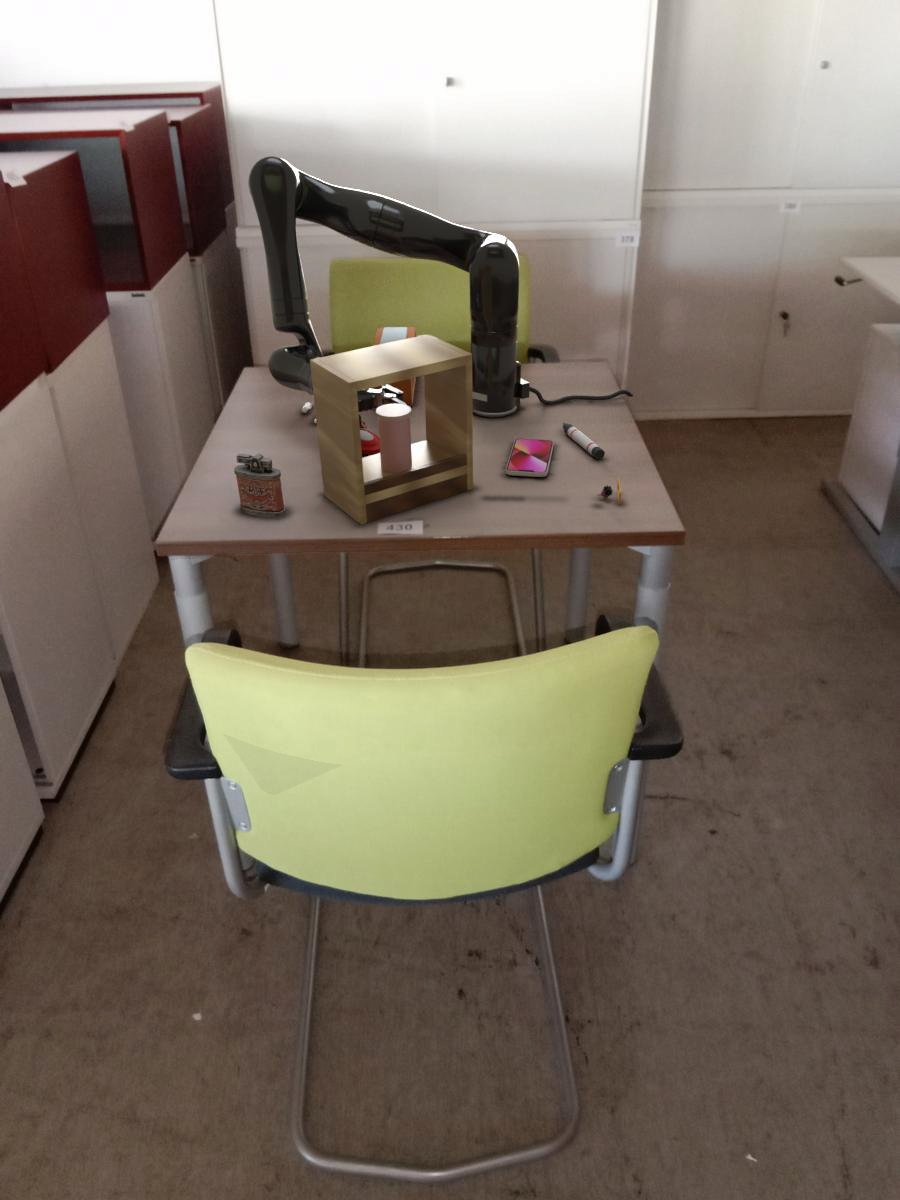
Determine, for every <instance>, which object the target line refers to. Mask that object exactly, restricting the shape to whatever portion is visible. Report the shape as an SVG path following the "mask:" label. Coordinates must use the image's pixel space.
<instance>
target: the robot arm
mask: <svg viewBox="0 0 900 1200" xmlns="http://www.w3.org/2000/svg"><path fill="white" fill-rule="evenodd" d="M247 184H248V189H249V194H250V196H251V199H252V202H253V206H254V210H255V213H256V216H257V220H258V224H259V228H260V232H261V238H262V242H263V243H262V244H263V248H264V254H265V263H266V272H267V281H268V290H269V300H270V309H271V316H272V322H273V323H272V324H273V327H274V329H275V331H277V332H278V333H283V334H291V335H293V336H294V337H295V338H296V340H297V341H298V344H295V345H286V346H285V345H284V346H279V347H277V348H275V349H273V351H272V352H271V353H270V355H269V358H268V361H267V362H268V363H267V364H268V370H269V373H270V375H271V377H272V378H273V379H274V381H275V382H276V383H278V384H279V385H280V386H283V387H285V388H289V389H292V390H296V391H300V392H304V393H307V394H309V395H310V396H311V397H313V398H314V393H313V384H312V374H311V364H310V360H311V359H316V358H321V357H325V356H324V353H323V351H322V347H321V345H320V343H319V341H318V338H317V336H316V335H317V334H316V332H315V330H314V329H315V328H314V327H313V324H312V321H311V314H310V304H309V295H308V288H307V283H306V282H307V281H306V276H305V272H304V268H303V262H302V258H301V253H300V248H299V242H298V232H297V219H299V220H302V221H306V222H311V223H314V224H318V225H319V226H323V227H326V228H328V229H330V230H332V231H334V232H336V233H338V234H340V235H342V236H344V237H346V238H347V239H350V240H352V241H355V242H357V243H359V244H362V245H364V246H366V247H369V248H373V249H375V250H378V251H380V252H383V253H386V254H389V255H392V256H395V257H400V258H406V259H413V260H414V259H415V260H424V261H425V260H426V261H434V262H439V263H443V264H446V265H449V266H452V267H454V268H457V269H459V270H462V271H464V272H466V273H468V274H469V275H468V276H469V277H468V279H469V280H468V281H469V283H468V284H469V285H468V286H469V321H470V322H469V324H470V325H469V326H470V327H469V328H470V338H469V339H470V340H469V341H470V353H471V354H472V414H473V415H474V414H475V415H477V416H480V417H484V418H501V417H502V418H503V417H507V416H510V415H512V414H514V413H515V412H516V411H517V410H520V409H521V400H525V399H527V398H528V399H529V398H530V393H533V394H535V395H536V397H537V399H538V401H539V402H540V403H541V404H542V405H546V406H551V405H557V404H561V403H564V402H568V401H576V400H577V401H609V400H612V399H614V398H616V397H619V396H621V395H626V396H627V397H631V398H632V397H634V394H633V393H632V392H631V391H630V390H627V389H620V390H618V391H617V390H616V391H615V392H613V393H610V394H607V395H583V394H581V395H579V394H577V395H576V394H575V395H574V394H573V395H566V396H564V397H563V396H562V397H560V398H558V399H555V400H547V399H544V397H543V395H542V393H541V392H540V391H539V390H538V389H536V388H534V387H532V386H531V383H530V382H529V381H527V380H525V379H524V378H522V364H521V362H520V361H518V334H519V333H518V332H519V330H518V327H519V308H520V307H519V306H520V305H519V303H520V301H519V299H520V257H519V253H518V249H517V247H516V246H515V244H514V242H512V241H511V240H510V239H508V238H507V237H506V236H503V235H501V234H498V233H493V232H489V231H488V232H487V231H484V230H478V229H474V228H471V227H467V226H463V225H459V224H456V223H453V222H450V221H448V220H446V219H443V218H441V217H439V216H437V215H435V214H432V213H429V212H427V211H425V210H423V209H420V208H417V207H415V206H412V205H410V204H407V203H405V202H402V201H399V200H396V199H393V198H390V197H388V196H385V195H381V194H378V193H374V192H370V191H365V190H361V189H355V188H349V187H343V186H338V185H334V184H330V183H329V182H325V181H323V180H321V179H320V178H316V177H315V176H312V175H310V174H307V173H305V172H303V171H301V170H299V169H297V168H296V167H294V166H293V165H292V164H291V163H289V162H288V161H287V160H286V159H284V158H281V157H278V156H272V155H269V156H264V157H262V158H260V159H259V160H257V161H256V162H255V163H254V164H253V166H252V168H251V169H250V171H249V174H248V181H247ZM377 397H378V406H376V405H375V403H376V400H377ZM357 399H358V412H359V413H361V412H368V411H372V412H376V409H377V408H378V407H380V406H382V405H386V404H385V401H388V402H389V404H404V405H406V403H404V402H403V392H402V391H400V390H398V389H396V388H394V387H392V386H390V385H388V384H386V385H382V386H381V389H379V390H374V389H372V388H369V389H365V390H361V391H357ZM361 420H362V416H361V414H359V425H360V427H362V423H361Z"/></svg>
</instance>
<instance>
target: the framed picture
mask: <svg viewBox="0 0 900 1200" xmlns="http://www.w3.org/2000/svg"><path fill="white" fill-rule="evenodd" d="M616 490H617V498H618V500H617V501H618V505H621V498H622V497H621V496H622V490H621V482H620V477H617V487H616ZM613 492H614V490H613V489H612V487H611V485H604V486H603V488H602V490H601V492H600V493H599V494H597V496H598V497H599V496H600V497H603V499H608V498H609V497H611V496H613Z"/></svg>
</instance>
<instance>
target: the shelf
mask: <svg viewBox="0 0 900 1200" xmlns="http://www.w3.org/2000/svg"><path fill="white" fill-rule="evenodd" d="M310 364H311V374H312V384H313V393H314V397H313V402H314V403H313V404H314V411H315V419H316V422H317V423H316V430H317V431H316V432H317V440H318V449H319V458H320V468H321V470H320V471H321V479H322V489H323V496H325V497H326V498H327V499H329V501H331V502H332V503H333V504H334V505H336V506H337V507H339V508H340V509H341V511H344V513H346V514H347V515H349V516H350V517H351V518H352V519H353V520H355V521H356V522H357V523H359V525H364V524H366V523H369V522H373V521H375V520H379V519H382V518H385V517H388V516H392V515H394V514H399V513H401V512H404V511H407V510H410V509H413V508H417V507H420V506H424V505H427V504H431V503H433V502H436V501H439V500H442V499H445V498H449V497H452V496H454V495H455V496H456V495H458V494H461V493H464V492H467V491H471V490H474V450H473V447H474V446H473V444H474V438H473V437H474V435H473V433H474V432H473V428H474V427H473V424H474V423H473V419H474V418H473V412H472V354H471V352H469V351H467V350H465V349H462V348H459V347H457V346H456V345H453V344H452V343H449V342H447V341H445V340H442V339H441V338H438V337H436V336H434V335H432V334H430V333H426V334H422V335H416V337H412V338H408V339H403V340H398V341H394V342H389V343H385V344H380V345H376V346H373V345H371V346H366V347H362V348H358V349H354V350H349V351H344V352H339V353H335V354H331V355H330V354H329V355H326V356H324V357H321V358H316V359H311V360H310ZM422 376H423V386H424V387H423V388H424V413H425V414H424V415H425V417H424V418H425V440H421V441H418V442H413V443H411V453H412V467H411V469H409V470H405V471H402V472H399V473H391V472H386V471H384V470H383V469H382V468H381V456H380V452H379V453H377V454H373V455H368V456H364V457H363V454H362V451H361V438H360V425H359V415H360V412H358V399H357V391H361V390H365V389H369V388H373V387H378V386H382V385H386V384H390V383H394V382H398V381H402V380H407V379H411V378H415V377H416V378H418V377H422Z"/></svg>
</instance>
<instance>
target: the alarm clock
mask: <svg viewBox="0 0 900 1200" xmlns="http://www.w3.org/2000/svg"><path fill="white" fill-rule="evenodd" d="M412 337H417V332H416V327H414V326H384V327H378V328H377V330H376V333H375V337H374V341H373V345H372V346H376V345H380V344H385V343H389V342H394V341H398V340H403V339H408V338H412ZM416 380H417V377H415V378H411V379H407V380H402V381H398V382H394V383H390V384H388V385H390V386H392V387H394V388H396V389H398V390H400V391H402V392H403V402H404V403H406V405H407V406H409V407H411V406H413V404H414V398H415V397H414V396H415V388H416ZM372 389H374V390H379V389H381V386H378V387H373V388H372ZM385 404H389V402H388V401H385ZM375 405H376V406H378V397H377V400H376V403H375Z"/></svg>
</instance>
